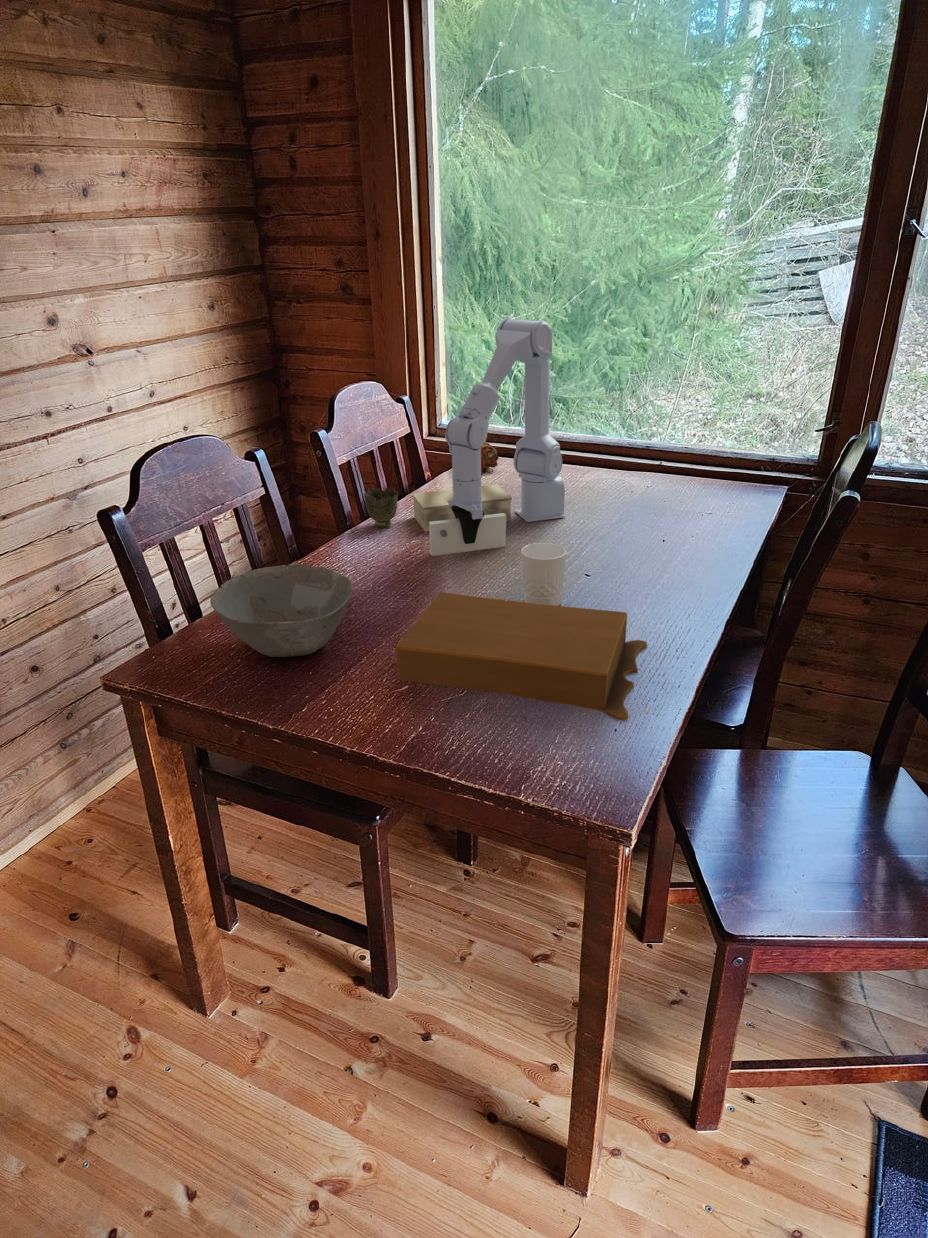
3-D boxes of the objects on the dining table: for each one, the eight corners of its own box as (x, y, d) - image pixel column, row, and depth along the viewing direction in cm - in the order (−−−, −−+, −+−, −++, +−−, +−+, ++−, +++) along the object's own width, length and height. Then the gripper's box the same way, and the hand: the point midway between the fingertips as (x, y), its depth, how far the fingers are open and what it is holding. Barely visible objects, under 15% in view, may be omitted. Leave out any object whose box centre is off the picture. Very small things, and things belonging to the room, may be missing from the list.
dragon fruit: (499, 479, 223) (461, 480, 228) (508, 454, 226) (470, 456, 232) (487, 459, 216) (448, 460, 222) (497, 433, 219) (457, 435, 225)
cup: (402, 520, 191) (400, 486, 187) (396, 532, 184) (394, 497, 181) (370, 520, 192) (367, 486, 188) (363, 531, 185) (360, 496, 182)
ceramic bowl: (296, 695, 124) (289, 636, 119) (190, 657, 135) (179, 602, 131) (386, 635, 141) (382, 581, 136) (284, 605, 152) (278, 554, 147)
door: (503, 544, 177) (503, 513, 174) (507, 549, 175) (507, 517, 171) (430, 553, 173) (428, 521, 170) (433, 558, 171) (432, 526, 168)
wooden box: (442, 587, 143) (649, 610, 133) (444, 621, 146) (646, 646, 136) (391, 651, 124) (629, 683, 114) (394, 689, 126) (626, 723, 116)
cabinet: (497, 507, 198) (497, 484, 195) (518, 527, 185) (518, 503, 183) (413, 516, 193) (412, 493, 190) (429, 538, 180) (428, 514, 178)
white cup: (568, 595, 153) (570, 545, 149) (558, 614, 146) (560, 561, 142) (526, 590, 155) (527, 540, 151) (515, 608, 149) (515, 556, 144)
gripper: (438, 469, 173) (440, 531, 179) (457, 490, 160) (459, 555, 166) (470, 466, 174) (471, 527, 180) (492, 486, 162) (492, 551, 168)
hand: (468, 541), depth 173 cm, fingers closed
